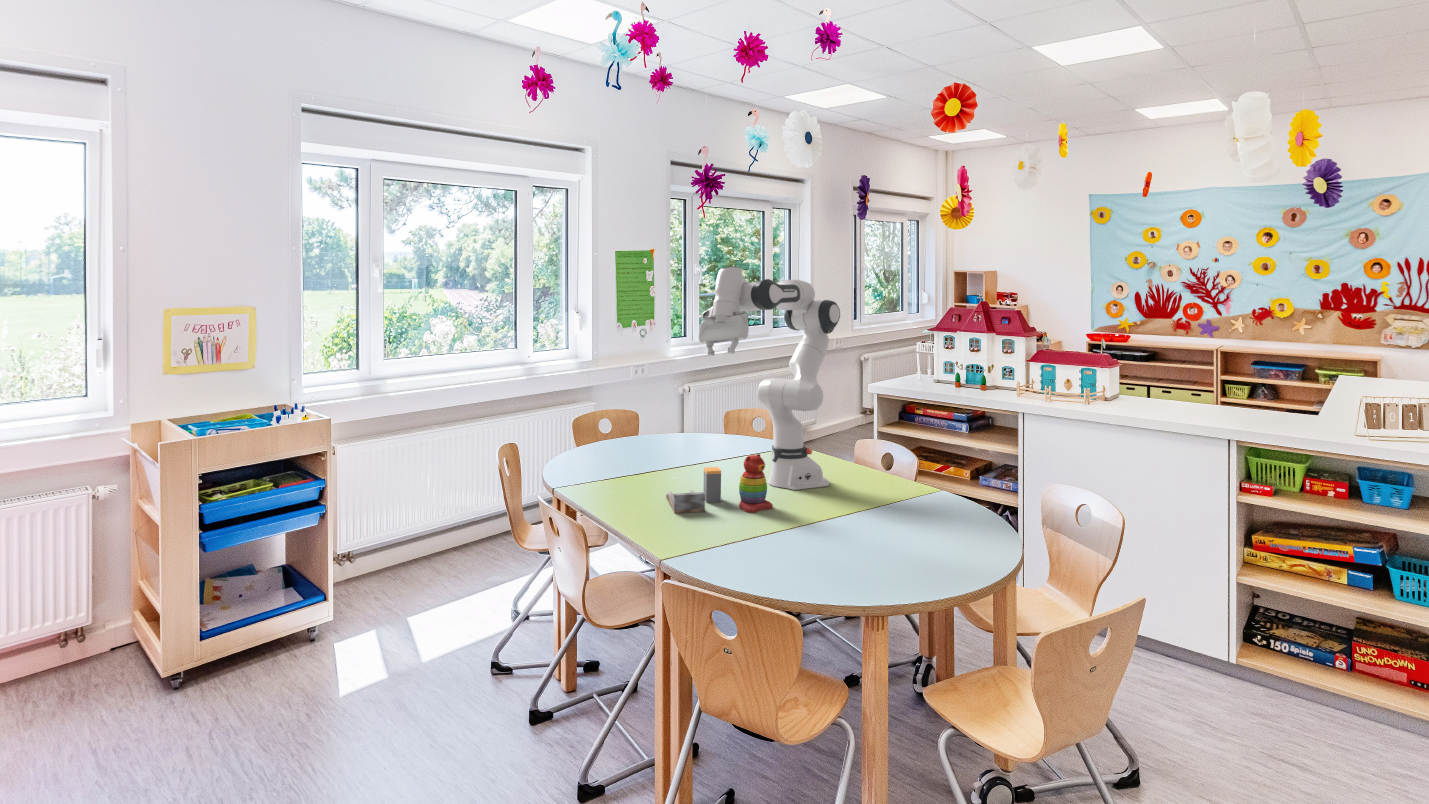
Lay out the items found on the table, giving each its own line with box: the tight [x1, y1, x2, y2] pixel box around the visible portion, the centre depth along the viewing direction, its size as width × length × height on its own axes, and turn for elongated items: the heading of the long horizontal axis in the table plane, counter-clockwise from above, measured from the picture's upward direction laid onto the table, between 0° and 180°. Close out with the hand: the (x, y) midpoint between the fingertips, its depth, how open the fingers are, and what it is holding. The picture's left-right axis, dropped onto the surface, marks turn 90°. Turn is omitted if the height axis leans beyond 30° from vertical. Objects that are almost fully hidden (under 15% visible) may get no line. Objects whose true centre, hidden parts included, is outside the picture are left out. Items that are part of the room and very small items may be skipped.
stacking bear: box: [738, 453, 774, 514], centre depth 254 cm, size 11×10×18 cm
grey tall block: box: [703, 466, 722, 504], centre depth 262 cm, size 5×5×11 cm
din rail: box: [665, 489, 706, 514], centre depth 257 cm, size 10×18×6 cm, turn 12°
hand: (720, 354), depth 250 cm, fingers open, 8 cm apart
